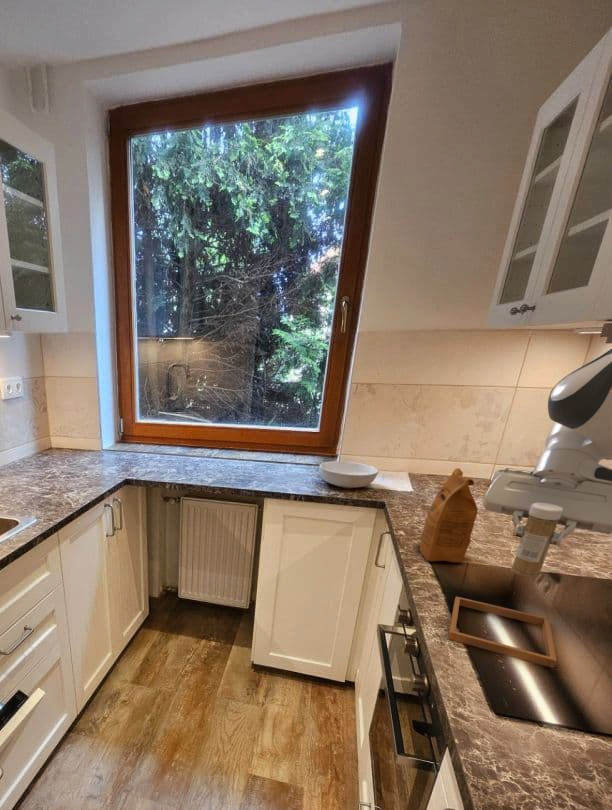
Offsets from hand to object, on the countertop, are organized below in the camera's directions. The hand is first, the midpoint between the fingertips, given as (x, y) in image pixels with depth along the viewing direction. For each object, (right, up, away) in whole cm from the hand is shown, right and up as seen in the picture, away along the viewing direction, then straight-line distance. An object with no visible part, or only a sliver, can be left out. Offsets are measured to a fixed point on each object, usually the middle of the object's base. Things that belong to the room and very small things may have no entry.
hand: (536, 539), depth 85 cm
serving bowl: (+3, +23, +95) cm, 98 cm away
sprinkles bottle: (0, -6, +4) cm, 7 cm away
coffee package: (+4, -3, +37) cm, 38 cm away
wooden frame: (-4, -18, +4) cm, 19 cm away
